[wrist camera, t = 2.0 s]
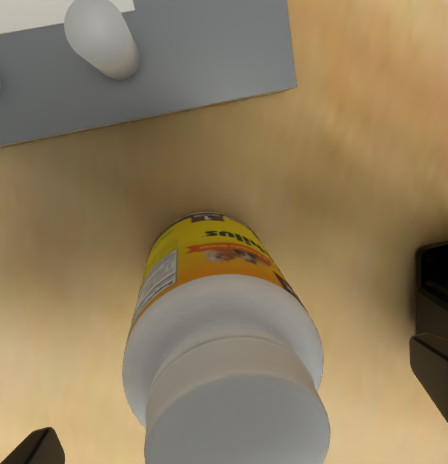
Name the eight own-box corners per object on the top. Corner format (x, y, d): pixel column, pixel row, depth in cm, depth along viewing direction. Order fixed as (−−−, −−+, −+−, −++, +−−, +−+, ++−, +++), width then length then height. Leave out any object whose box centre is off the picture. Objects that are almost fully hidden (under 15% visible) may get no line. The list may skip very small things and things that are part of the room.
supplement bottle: (284, 254, 17) (420, 425, 7) (212, 331, 18) (249, 575, 8) (198, 182, 16) (229, 281, 6) (123, 271, 16) (42, 486, 7)
